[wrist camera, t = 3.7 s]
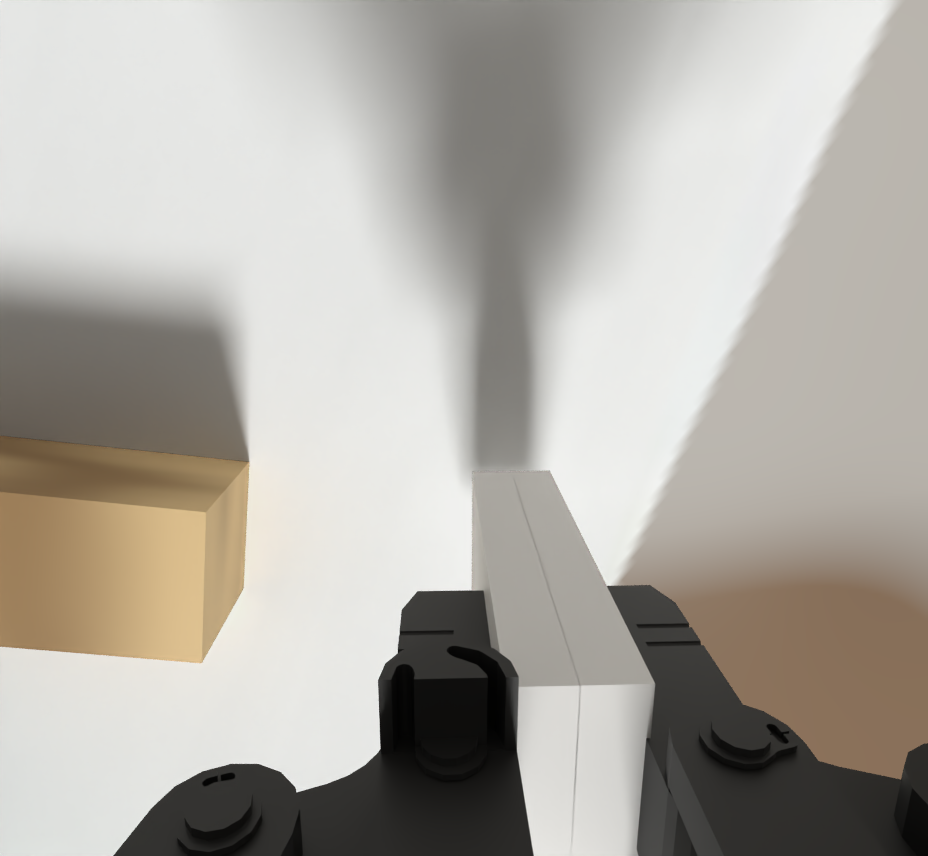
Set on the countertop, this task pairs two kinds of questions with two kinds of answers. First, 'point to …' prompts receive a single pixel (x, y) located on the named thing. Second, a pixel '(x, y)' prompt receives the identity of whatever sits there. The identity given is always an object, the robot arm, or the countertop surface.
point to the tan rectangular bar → (118, 549)
